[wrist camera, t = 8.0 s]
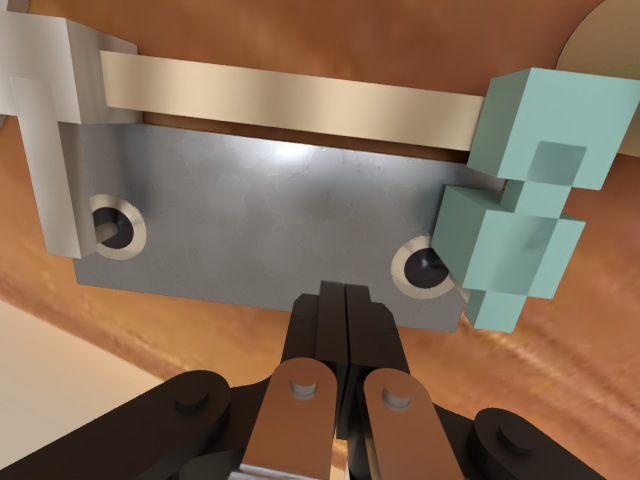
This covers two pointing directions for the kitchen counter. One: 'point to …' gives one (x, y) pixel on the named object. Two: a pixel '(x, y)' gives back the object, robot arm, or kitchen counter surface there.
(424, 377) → the kitchen counter surface
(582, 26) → the coffee cup
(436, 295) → the bolt plate
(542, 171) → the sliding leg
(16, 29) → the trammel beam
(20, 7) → the adjustable wrench
